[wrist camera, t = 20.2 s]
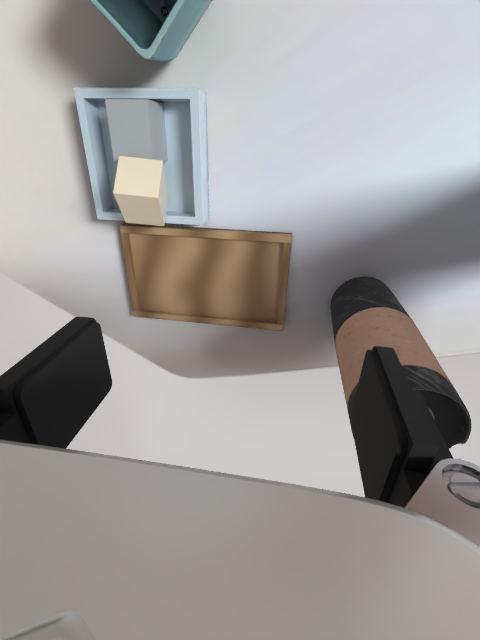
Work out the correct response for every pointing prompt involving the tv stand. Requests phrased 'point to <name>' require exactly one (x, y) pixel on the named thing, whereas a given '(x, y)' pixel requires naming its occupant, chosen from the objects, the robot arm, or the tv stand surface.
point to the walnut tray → (207, 274)
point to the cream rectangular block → (141, 190)
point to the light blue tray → (182, 147)
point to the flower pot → (154, 24)
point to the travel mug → (412, 350)
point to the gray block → (137, 128)
